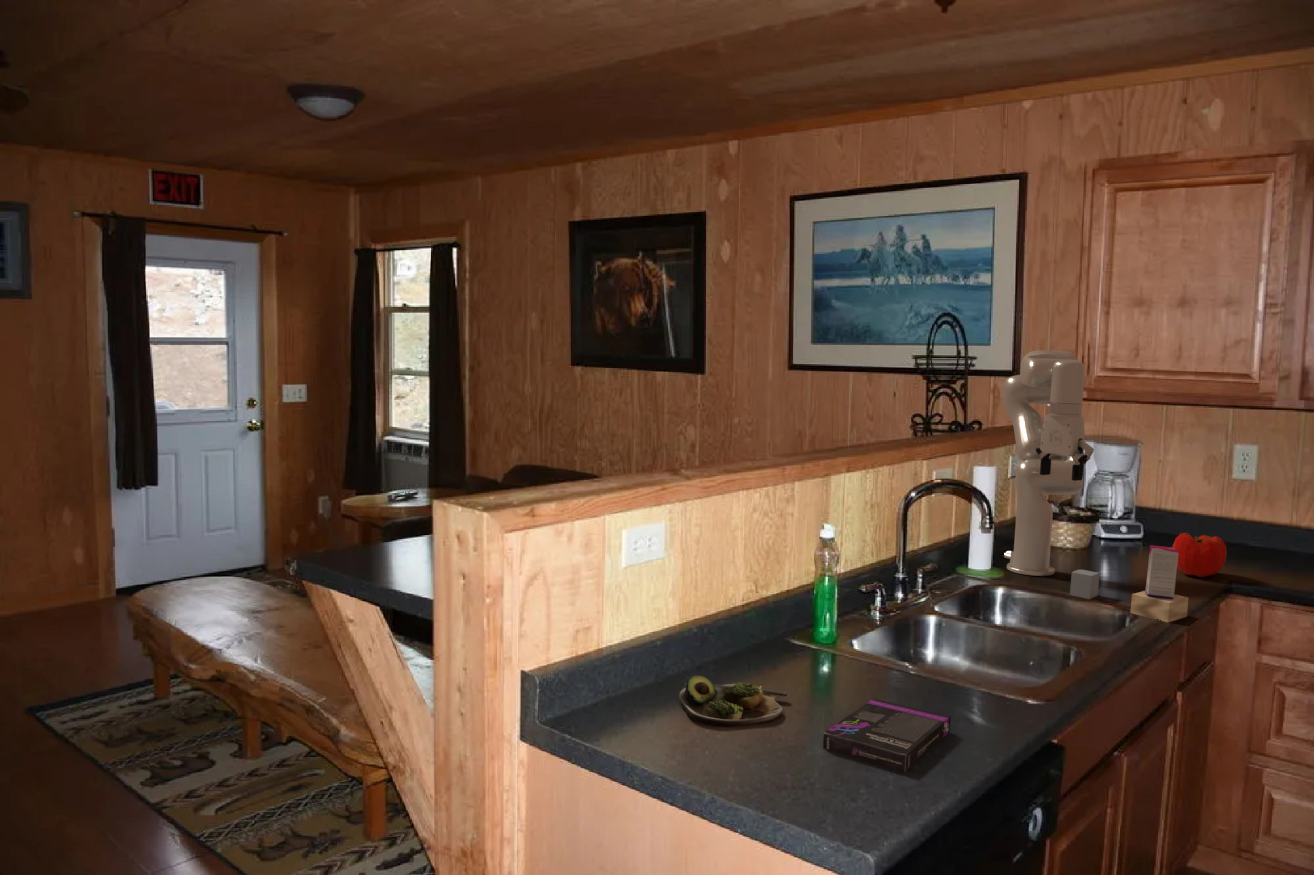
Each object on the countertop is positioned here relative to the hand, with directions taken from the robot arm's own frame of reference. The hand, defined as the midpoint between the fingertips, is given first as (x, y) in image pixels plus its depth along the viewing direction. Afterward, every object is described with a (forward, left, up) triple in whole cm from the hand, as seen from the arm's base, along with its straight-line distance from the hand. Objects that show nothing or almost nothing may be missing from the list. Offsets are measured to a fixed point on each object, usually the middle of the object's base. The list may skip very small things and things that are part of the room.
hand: (1060, 477), depth 253 cm
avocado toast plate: (+30, -118, -31) cm, 126 cm away
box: (+53, -102, -31) cm, 119 cm away
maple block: (+24, +9, -31) cm, 40 cm away
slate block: (+4, +7, -30) cm, 31 cm away
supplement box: (+23, +9, -26) cm, 36 cm away
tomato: (+2, +57, -31) cm, 65 cm away
